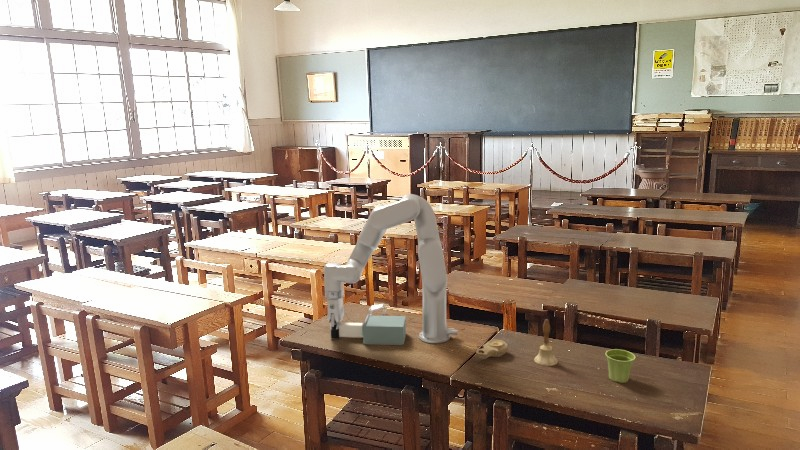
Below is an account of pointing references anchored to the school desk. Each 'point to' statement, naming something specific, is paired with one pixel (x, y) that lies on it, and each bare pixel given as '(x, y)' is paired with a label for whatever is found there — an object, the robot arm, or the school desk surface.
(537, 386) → the school desk surface
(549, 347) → the hand bell
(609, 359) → the plant pot
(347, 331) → the pink-banded cream bar
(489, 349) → the oil lamp
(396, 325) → the block
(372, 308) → the white scroll-footed stand
